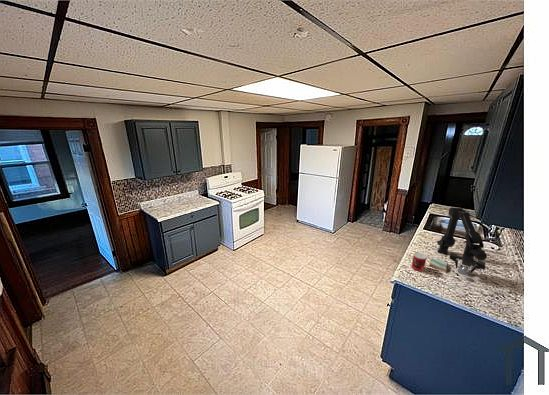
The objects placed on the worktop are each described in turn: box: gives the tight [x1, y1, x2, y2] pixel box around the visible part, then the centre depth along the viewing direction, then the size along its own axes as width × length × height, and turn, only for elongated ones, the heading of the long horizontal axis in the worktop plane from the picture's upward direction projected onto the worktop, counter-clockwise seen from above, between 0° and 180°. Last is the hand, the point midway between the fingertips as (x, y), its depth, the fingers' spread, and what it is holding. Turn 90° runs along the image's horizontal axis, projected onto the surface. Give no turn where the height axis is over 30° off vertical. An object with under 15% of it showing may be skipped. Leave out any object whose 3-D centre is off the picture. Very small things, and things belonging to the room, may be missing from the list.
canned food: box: [411, 251, 428, 272], centre depth 157 cm, size 8×8×11 cm
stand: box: [428, 257, 449, 273], centre depth 161 cm, size 10×10×2 cm
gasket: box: [465, 276, 475, 283], centre depth 147 cm, size 4×4×1 cm
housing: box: [458, 264, 470, 277], centre depth 154 cm, size 7×5×4 cm
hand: (463, 270), depth 154 cm, fingers open, 7 cm apart
